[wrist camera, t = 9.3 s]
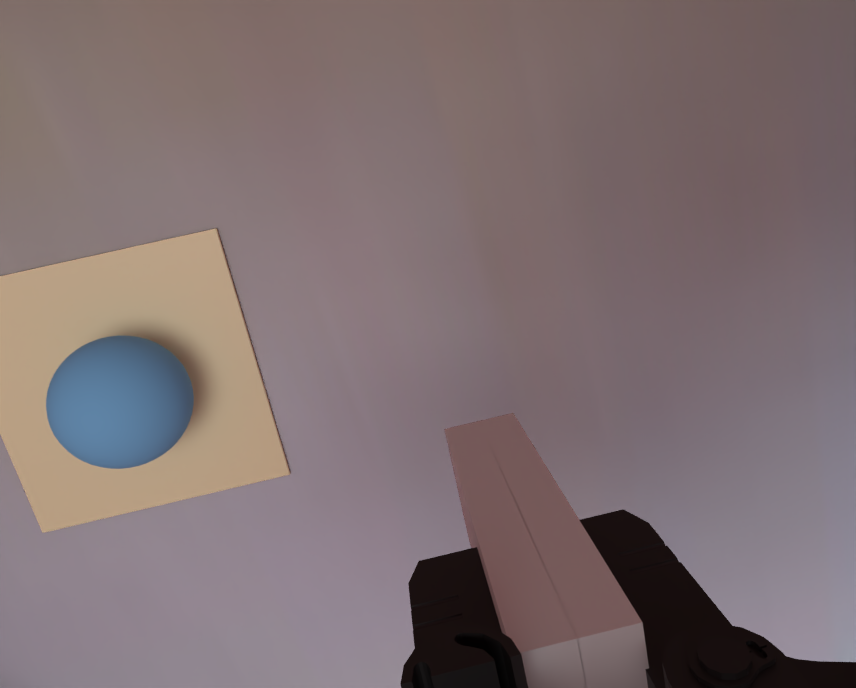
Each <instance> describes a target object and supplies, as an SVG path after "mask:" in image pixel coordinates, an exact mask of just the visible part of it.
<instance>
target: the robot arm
mask: <svg viewBox="0 0 856 688" xmlns="http://www.w3.org/2000/svg"><path fill="white" fill-rule="evenodd" d="M445 434H446V438H447V443H448V447H449V452H450V456H451V461H452V465H453V470H454V474H455V479H456V483H457V488H458V492H459V497H460V501H461V506H462V510H463V515H464V519H465V524H466V528H467V533H468V537H469V541H470V545H471V549H467V550H463V551H459V552H455V553H450V554H446V555H442V556H438V557H434V558H430V559H426V560H422V561H419V562H418V564H417V566H416V568H415V571H414V573H413V575H412V577H411V579H410V581H409V593H410V603H411V610H412V611H411V613H412V624H413V634H414V644H415V649H414V651H413V653H412V654H411V656H410V657H409V659H408V660H407V662H406V663H405V665H404V668H403V674H402V679H401V687H402V688H856V662H818V661H808V660H798V659H794V658H790V657H786V656H785V655H784V654H783V653H782V652H781V651H780V650H779V649H778V648H776V647H775V646H774V645H773V644H772V643H770V642H769V641H768V640H767V639H765V638H764V637H762V636H760V635H758V634H755V633H753V632H751V631H748V630H746V629H744V628H742V627H735V626H732V625H731V624H730V622H729V621H728V620H727V619H726V617H725V616H724V615H723V614H722V613H721V611H720V610H719V609H718V608H717V606H716V605H715V604H714V603H713V601H712V600H711V599H710V598H709V597H708V595H707V594H706V593H705V592H704V590H703V589H702V588H701V587H700V586H699V584H698V583H697V582H696V581H695V579H694V578H693V577H692V576H691V574H690V573H689V572H688V571H687V570H686V568H685V567H684V566H683V565H682V563H681V562H678V560H677V557H676V556H675V555H674V554H673V552H672V551H671V550H670V549H669V547H668V546H665V544H664V541H663V540H662V539H661V538H660V536H659V535H658V534H657V533H656V532H655V530H654V529H653V528H652V527H651V525H650V524H649V523H648V522H646V521H644V520H642V519H640V518H638V517H637V516H635V515H633V514H631V513H629V512H627V511H625V510H619V511H615V512H611V513H607V514H602V515H598V516H594V517H590V518H586V519H582V520H579V519H578V517H577V516H576V514H575V512H574V511H573V509H572V507H571V506H570V504H569V503H568V501H567V499H566V498H565V496H564V495H563V493H562V491H561V490H560V488H559V486H558V485H557V483H556V482H555V480H554V478H553V477H552V475H551V473H550V472H549V470H548V469H547V467H546V465H545V464H544V462H543V461H542V459H541V457H540V456H539V454H538V452H537V451H536V449H535V448H534V446H533V444H532V443H531V441H530V439H529V438H528V436H527V435H526V433H525V431H524V430H523V428H522V427H521V425H520V423H519V422H518V420H517V418H516V417H515V415H514V414H513V413H511V414H507V415H503V416H498V417H494V418H490V419H486V420H481V421H477V422H473V423H468V424H464V425H460V426H456V427H451V428H447V429H445Z"/></svg>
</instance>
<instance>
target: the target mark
mask: <svg viewBox="0 0 856 688" xmlns="http://www.w3.org/2000/svg"><path fill="white" fill-rule="evenodd" d="M118 335H119V336H135V337H141V338H145V339H148V340H151V341H153V342H156V343H158V344H159V345H161V346H163V347H164V348H166V349H167V350H169V351H170V352H171V353H173V354H174V355H175V356H176V357H177V358H178V359H179V361H180V362H181V363H182V364H183V366H184V368H185V369H186V371H187V373H188V375H189V378H190V380H191V384H192V388H193V395H194V405H193V411H192V415H191V419H190V422H189V424H188V426H187V428H186V430H185V432H184V433H183V435H182V436H181V438H180V439H179V440H178V442H177V443H176V444H175V445H174V446H173V447H172V448H171V449H170V450H168V451H167V452H166V453H165V454H163V455H161V456H160V457H158V458H157V459H155V460H153V461H150V462H148V463H146V464H143V465H140V466H136V467H131V468H124V469H110V468H103V467H99V466H95V465H91V464H89V463H86V462H84V461H82V460H80V459H78V458H76V457H75V456H73V455H72V454H71V453H69V452H68V451H67V450H66V449H65V448H64V447H63V446H62V445H61V444H60V443H59V441H58V440H57V439H56V437H55V436H54V434H53V432H52V430H51V428H50V425H49V422H48V418H47V411H46V397H47V391H48V388H49V384H50V381H51V379H52V377H53V375H54V373H55V372H56V370H57V369H58V367H59V366H60V365H61V363H62V362H63V361H64V360H65V359H66V358H67V357H68V356H69V355H70V354H72V353H73V352H74V351H75V350H77V349H78V348H80V347H81V346H83V345H85V344H87V343H89V342H92V341H94V340H97V339H100V338H105V337H109V336H118ZM0 434H1V437H2V439H3V441H4V444H5V446H6V448H7V451H8V453H9V455H10V458H11V460H12V462H13V465H14V467H15V469H16V472H17V474H18V476H19V479H20V481H21V483H22V486H23V488H24V490H25V493H26V495H27V497H28V500H29V502H30V504H31V507H32V509H33V511H34V514H35V516H36V518H37V521H38V523H39V525H40V528H41V530H42V532H43V533H45V532H49V531H53V530H57V529H61V528H66V527H70V526H74V525H78V524H83V523H87V522H91V521H95V520H100V519H104V518H108V517H112V516H116V515H121V514H125V513H129V512H133V511H138V510H142V509H146V508H150V507H155V506H159V505H163V504H167V503H171V502H176V501H180V500H184V499H188V498H193V497H197V496H201V495H205V494H210V493H214V492H218V491H222V490H226V489H231V488H235V487H239V486H243V485H248V484H252V483H256V482H260V481H265V480H269V479H273V478H277V477H282V476H286V475H290V470H289V467H288V463H287V460H286V457H285V453H284V450H283V447H282V443H281V440H280V437H279V433H278V430H277V427H276V423H275V420H274V417H273V413H272V410H271V407H270V403H269V400H268V397H267V393H266V390H265V386H264V383H263V380H262V376H261V373H260V370H259V366H258V363H257V360H256V356H255V353H254V350H253V346H252V343H251V340H250V336H249V333H248V330H247V326H246V323H245V320H244V316H243V313H242V310H241V306H240V303H239V300H238V296H237V293H236V290H235V286H234V283H233V280H232V276H231V273H230V270H229V266H228V263H227V260H226V256H225V253H224V250H223V246H222V243H221V240H220V236H219V233H218V230H217V228H215V229H211V230H206V231H202V232H197V233H193V234H188V235H184V236H179V237H175V238H170V239H166V240H161V241H157V242H152V243H148V244H143V245H139V246H134V247H130V248H125V249H121V250H116V251H112V252H107V253H103V254H98V255H94V256H89V257H85V258H80V259H76V260H71V261H67V262H62V263H58V264H53V265H49V266H44V267H40V268H35V269H31V270H26V271H22V272H17V273H13V274H8V275H4V276H0Z"/></svg>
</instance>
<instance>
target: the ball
mask: <svg viewBox="0 0 856 688" xmlns="http://www.w3.org/2000/svg"><path fill="white" fill-rule="evenodd" d="M193 405H194V395H193V388H192V384H191V380H190V378H189V375H188V373H187V371H186V369H185V368H184V366H183V364H182V363H181V362H180V361H179V359H178V358H177V357H176V356H175V355H174V354H173V353H171V352H170V351H169V350H167V349H166V348H164V347H163V346H161V345H159V344H158V343H156V342H153V341H151V340H148V339H145V338H141V337H135V336H119V335H118V336H109V337H105V338H100V339H97V340H94V341H92V342H89V343H87V344H85V345H83V346H81V347H80V348H78V349H77V350H75V351H74V352H73V353H72V354H70V355H69V356H68V357H67V358H66V359H65V360H64V361H63V362H62V363H61V365H60V366H59V367H58V369H57V370H56V372H55V373H54V375H53V377H52V379H51V381H50V384H49V388H48V391H47V397H46V411H47V418H48V422H49V425H50V428H51V430H52V432H53V434H54V436H55V437H56V439H57V440H58V441H59V443H60V444H61V445H62V446H63V447H64V448H65V449H66V450H67V451H68V452H69V453H71V454H72V455H73V456H75V457H76V458H78V459H80V460H82V461H84V462H86V463H89V464H91V465H95V466H99V467H103V468H110V469H124V468H131V467H136V466H140V465H143V464H146V463H148V462H150V461H153V460H155V459H157V458H158V457H160V456H161V455H163V454H165V453H166V452H167V451H168V450H170V449H171V448H172V447H173V446H174V445H175V444H176V443H177V442H178V440H179V439H180V438H181V436H182V435H183V433H184V432H185V430H186V428H187V426H188V424H189V422H190V419H191V415H192V411H193Z"/></svg>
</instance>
